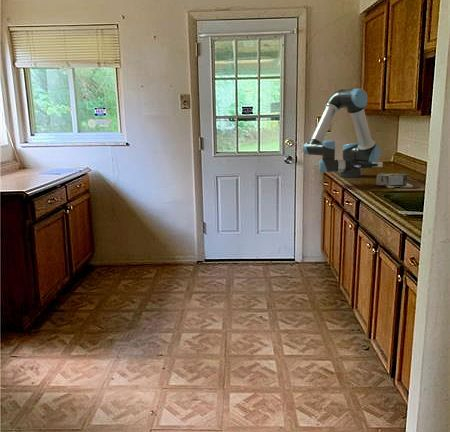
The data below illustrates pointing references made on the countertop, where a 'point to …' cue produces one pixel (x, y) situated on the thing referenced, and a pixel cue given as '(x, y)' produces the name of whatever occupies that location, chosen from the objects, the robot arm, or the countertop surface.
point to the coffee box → (391, 179)
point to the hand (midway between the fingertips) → (382, 164)
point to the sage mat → (398, 186)
